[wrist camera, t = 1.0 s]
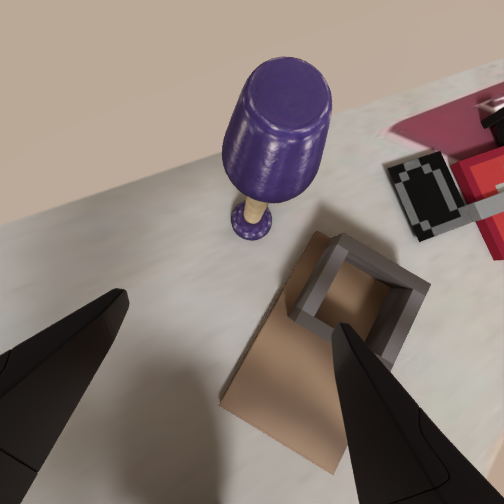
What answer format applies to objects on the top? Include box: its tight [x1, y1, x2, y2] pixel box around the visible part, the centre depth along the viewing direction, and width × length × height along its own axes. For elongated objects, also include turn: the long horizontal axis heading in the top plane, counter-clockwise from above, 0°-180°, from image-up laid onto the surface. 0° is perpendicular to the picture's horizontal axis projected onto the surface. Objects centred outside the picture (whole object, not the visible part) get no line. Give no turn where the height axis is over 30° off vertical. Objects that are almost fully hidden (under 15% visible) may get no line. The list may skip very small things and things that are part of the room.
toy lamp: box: [222, 57, 332, 240], centre depth 15 cm, size 5×5×17 cm
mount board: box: [219, 231, 431, 475], centre depth 21 cm, size 19×12×4 cm, turn 149°
